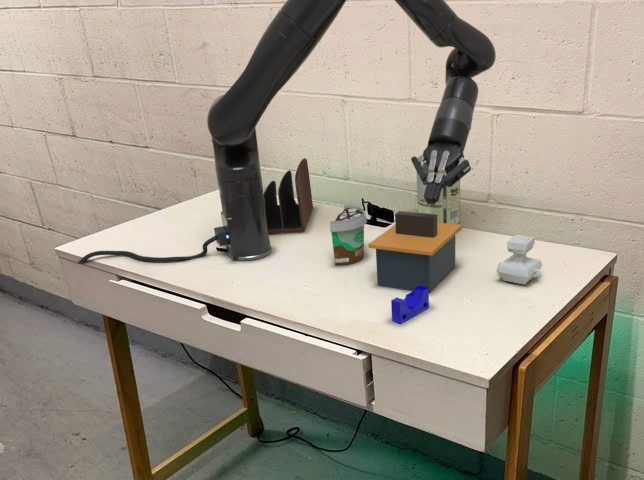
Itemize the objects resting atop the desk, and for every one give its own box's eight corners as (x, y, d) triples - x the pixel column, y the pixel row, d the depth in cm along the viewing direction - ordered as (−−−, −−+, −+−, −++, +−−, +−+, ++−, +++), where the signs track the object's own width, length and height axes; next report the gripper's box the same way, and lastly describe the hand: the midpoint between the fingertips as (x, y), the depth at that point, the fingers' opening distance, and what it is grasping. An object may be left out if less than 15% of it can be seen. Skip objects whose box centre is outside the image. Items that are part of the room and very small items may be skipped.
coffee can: (423, 217, 173) (423, 159, 166) (464, 219, 169) (465, 161, 163) (411, 230, 164) (410, 170, 157) (454, 233, 161) (454, 172, 154)
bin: (429, 293, 132) (429, 253, 128) (377, 285, 136) (375, 246, 132) (455, 267, 143) (455, 229, 139) (406, 261, 147) (405, 224, 143)
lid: (432, 255, 127) (431, 230, 124) (368, 248, 132) (367, 223, 129) (462, 228, 139) (462, 205, 137) (402, 222, 144) (402, 199, 142)
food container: (362, 269, 144) (359, 222, 139) (333, 268, 145) (329, 222, 140) (374, 248, 154) (372, 204, 150) (347, 247, 156) (344, 203, 151)
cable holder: (413, 303, 128) (413, 283, 126) (428, 308, 126) (428, 287, 124) (385, 318, 123) (384, 298, 121) (400, 324, 121) (400, 303, 119)
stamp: (490, 282, 135) (491, 240, 131) (504, 270, 140) (506, 230, 136) (533, 290, 131) (536, 248, 127) (547, 278, 135) (550, 237, 131)
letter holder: (313, 208, 183) (308, 153, 177) (304, 232, 166) (298, 173, 159) (275, 209, 184) (269, 155, 177) (263, 234, 166) (255, 175, 160)
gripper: (416, 114, 141) (393, 190, 138) (478, 117, 136) (456, 195, 133) (426, 136, 148) (405, 209, 145) (486, 139, 143) (465, 214, 139)
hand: (429, 202), depth 139 cm, fingers closed
